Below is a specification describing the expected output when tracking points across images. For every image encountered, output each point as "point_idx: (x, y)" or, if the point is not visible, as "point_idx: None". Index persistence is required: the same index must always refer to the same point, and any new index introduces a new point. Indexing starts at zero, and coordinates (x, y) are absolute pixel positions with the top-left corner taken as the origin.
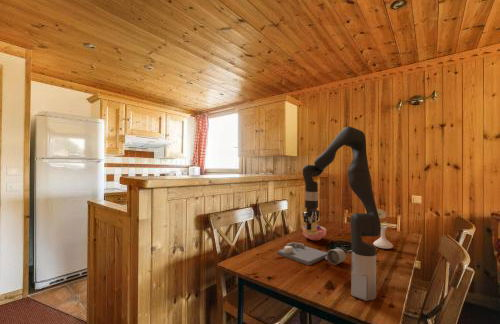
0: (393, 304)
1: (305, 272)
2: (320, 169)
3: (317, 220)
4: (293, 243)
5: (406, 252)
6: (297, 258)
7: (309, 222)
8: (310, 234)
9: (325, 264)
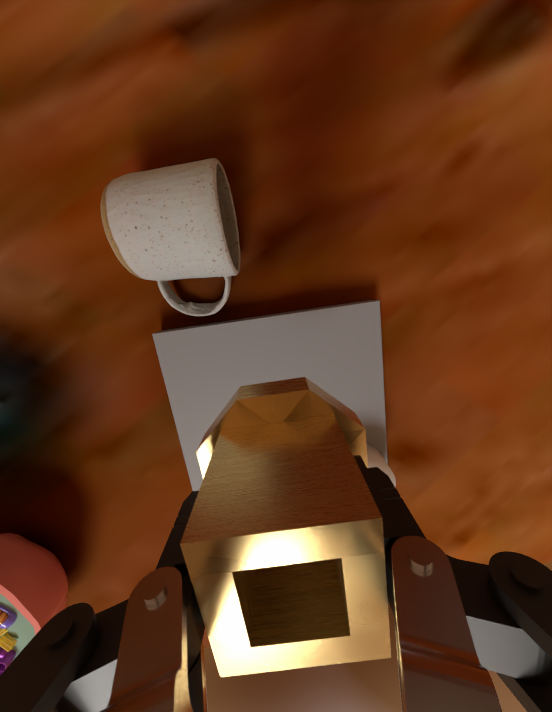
0: None
1: (462, 242)
2: None
3: (89, 610)
4: None
5: None
6: (381, 379)
7: (448, 563)
8: (350, 410)
9: (277, 256)
